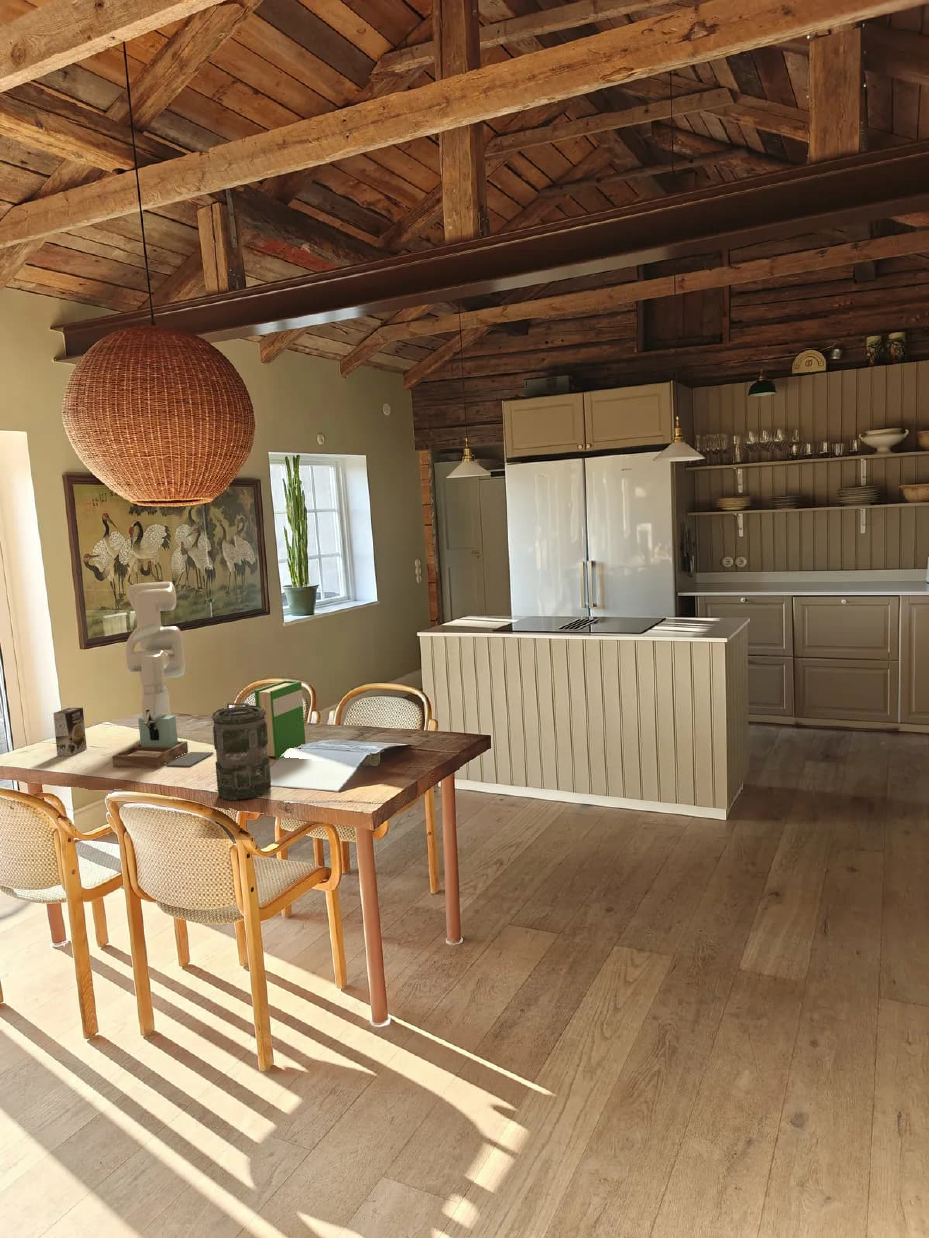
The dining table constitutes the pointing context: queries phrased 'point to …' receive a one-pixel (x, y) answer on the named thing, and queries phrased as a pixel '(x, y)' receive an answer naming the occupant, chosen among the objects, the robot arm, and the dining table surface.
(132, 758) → the rack
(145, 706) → the robot arm
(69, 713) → the coffee box
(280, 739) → the hardback book
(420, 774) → the dining table surface
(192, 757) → the mat
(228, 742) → the canister
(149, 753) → the offcut upper
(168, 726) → the pale green square slab
